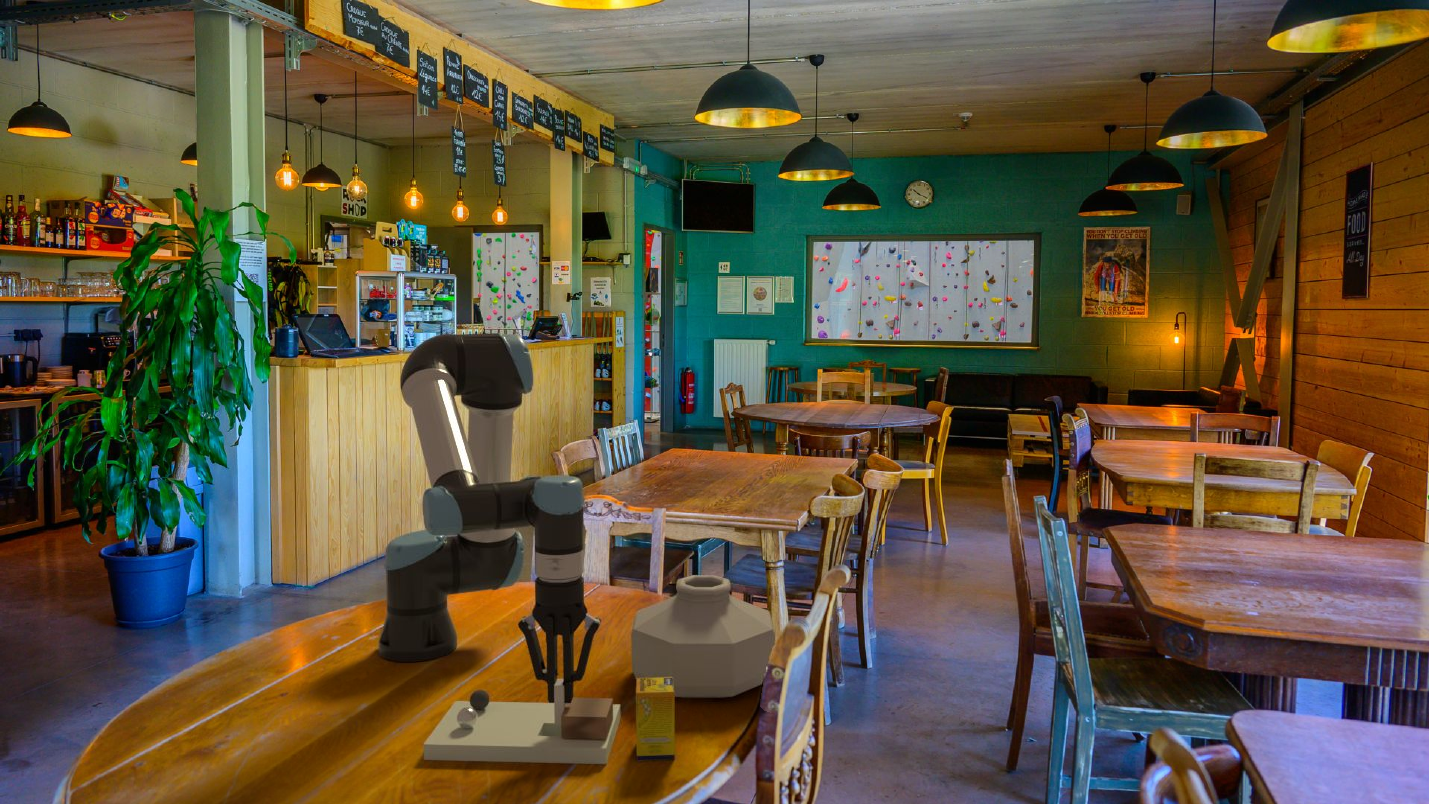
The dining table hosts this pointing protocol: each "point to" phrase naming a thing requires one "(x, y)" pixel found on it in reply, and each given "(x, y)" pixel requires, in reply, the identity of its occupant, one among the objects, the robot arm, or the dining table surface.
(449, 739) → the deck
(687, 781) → the dining table surface
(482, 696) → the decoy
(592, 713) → the cover
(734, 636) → the pot
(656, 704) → the supplement box
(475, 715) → the ball
